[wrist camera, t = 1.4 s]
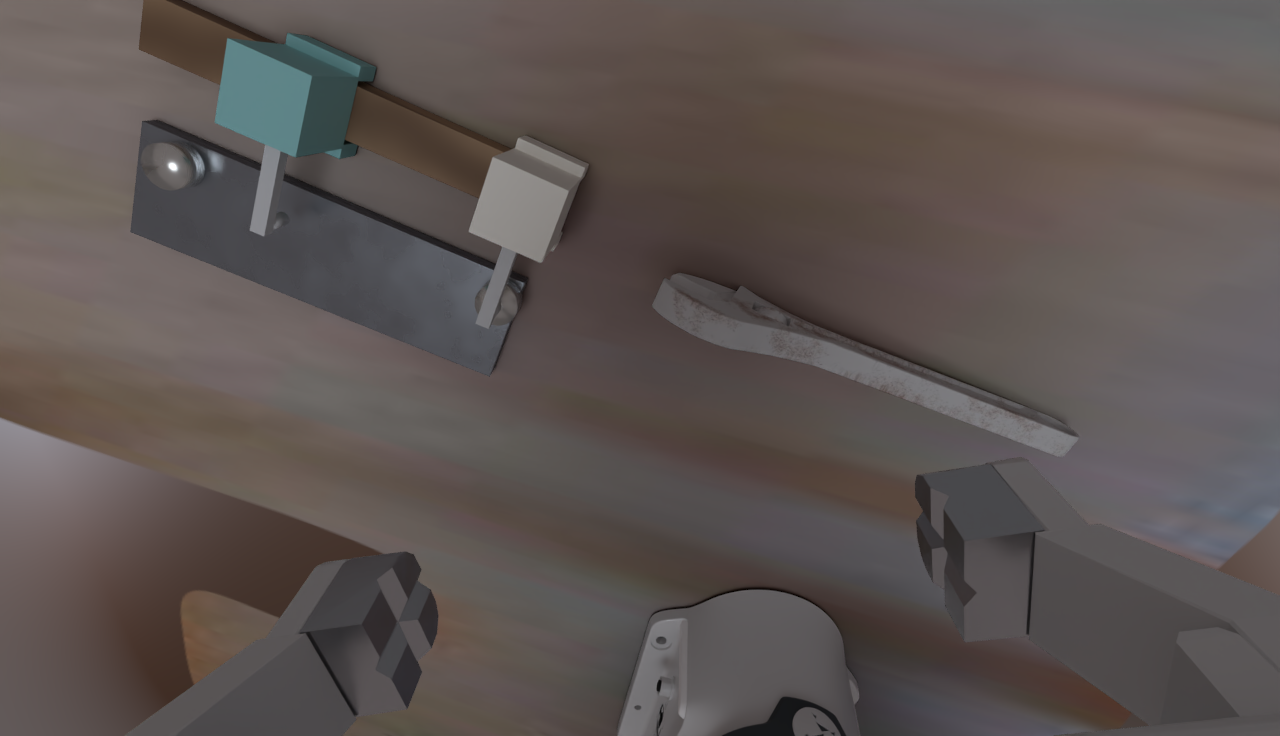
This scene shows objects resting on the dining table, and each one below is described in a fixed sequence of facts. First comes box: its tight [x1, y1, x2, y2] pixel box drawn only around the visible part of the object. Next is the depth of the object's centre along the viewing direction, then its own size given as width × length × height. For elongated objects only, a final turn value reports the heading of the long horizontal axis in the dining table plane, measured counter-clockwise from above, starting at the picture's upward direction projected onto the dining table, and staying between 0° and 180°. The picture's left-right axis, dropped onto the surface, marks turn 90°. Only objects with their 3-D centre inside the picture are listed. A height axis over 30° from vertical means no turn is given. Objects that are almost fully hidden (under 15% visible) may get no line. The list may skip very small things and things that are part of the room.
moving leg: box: [215, 33, 376, 236], centre depth 35 cm, size 10×4×7 cm, turn 156°
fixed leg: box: [468, 135, 589, 329], centre depth 36 cm, size 10×4×7 cm, turn 156°
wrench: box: [652, 273, 1079, 457], centre depth 40 cm, size 8×2×30 cm
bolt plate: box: [131, 120, 528, 377], centre depth 40 cm, size 7×24×3 cm, turn 66°
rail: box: [139, 0, 511, 198], centre depth 37 cm, size 3×24×2 cm, turn 66°
